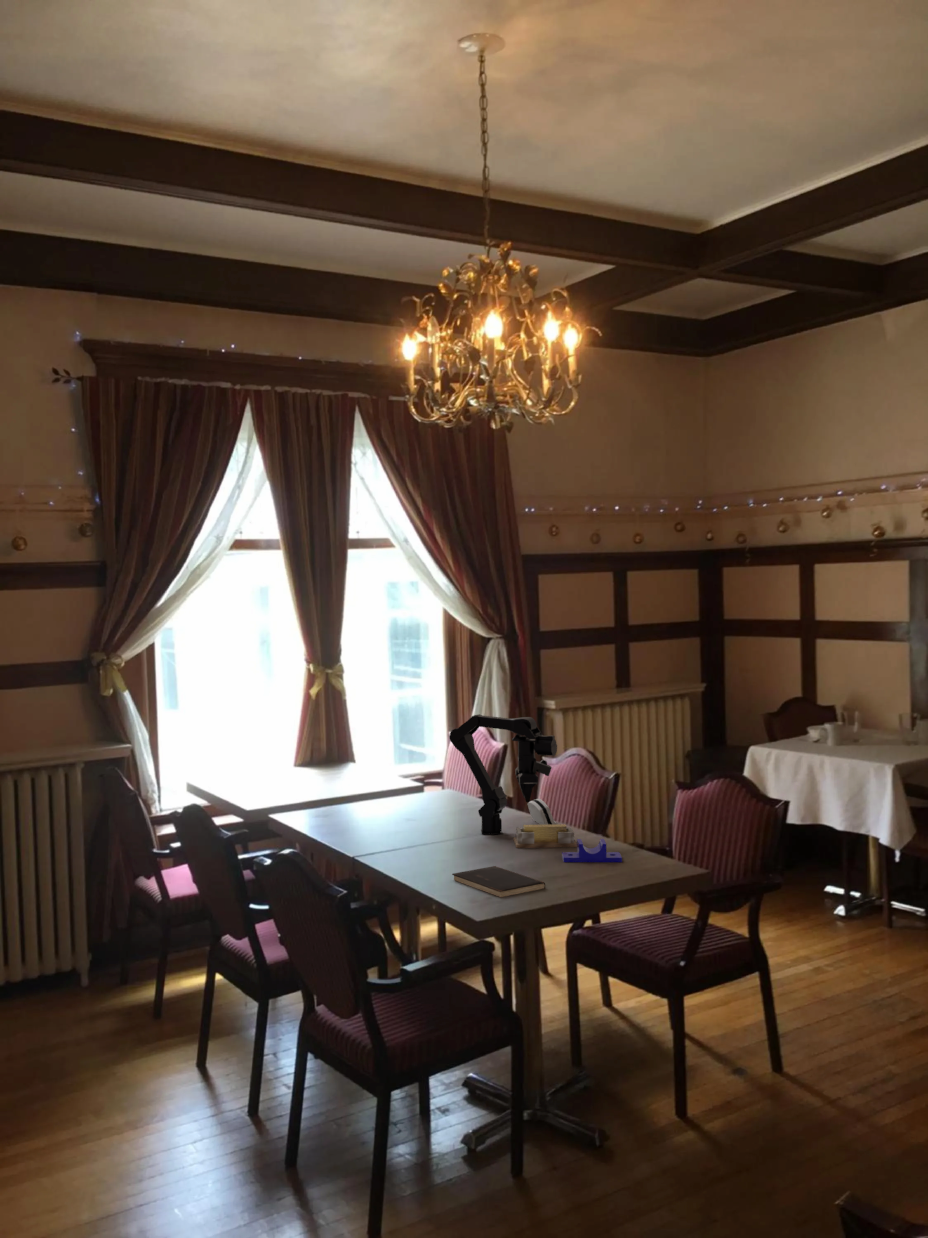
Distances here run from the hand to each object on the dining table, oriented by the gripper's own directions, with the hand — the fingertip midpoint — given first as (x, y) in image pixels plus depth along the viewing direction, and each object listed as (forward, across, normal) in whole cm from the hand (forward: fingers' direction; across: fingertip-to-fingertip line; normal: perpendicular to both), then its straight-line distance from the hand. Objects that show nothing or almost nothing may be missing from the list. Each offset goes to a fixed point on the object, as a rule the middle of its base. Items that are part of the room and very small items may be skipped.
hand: (526, 799), depth 372 cm
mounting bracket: (+13, -34, -17) cm, 40 cm away
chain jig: (+12, -12, -5) cm, 18 cm away
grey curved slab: (+13, +20, -8) cm, 25 cm away
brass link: (+12, -12, -5) cm, 17 cm away
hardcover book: (+13, -62, +14) cm, 65 cm away
